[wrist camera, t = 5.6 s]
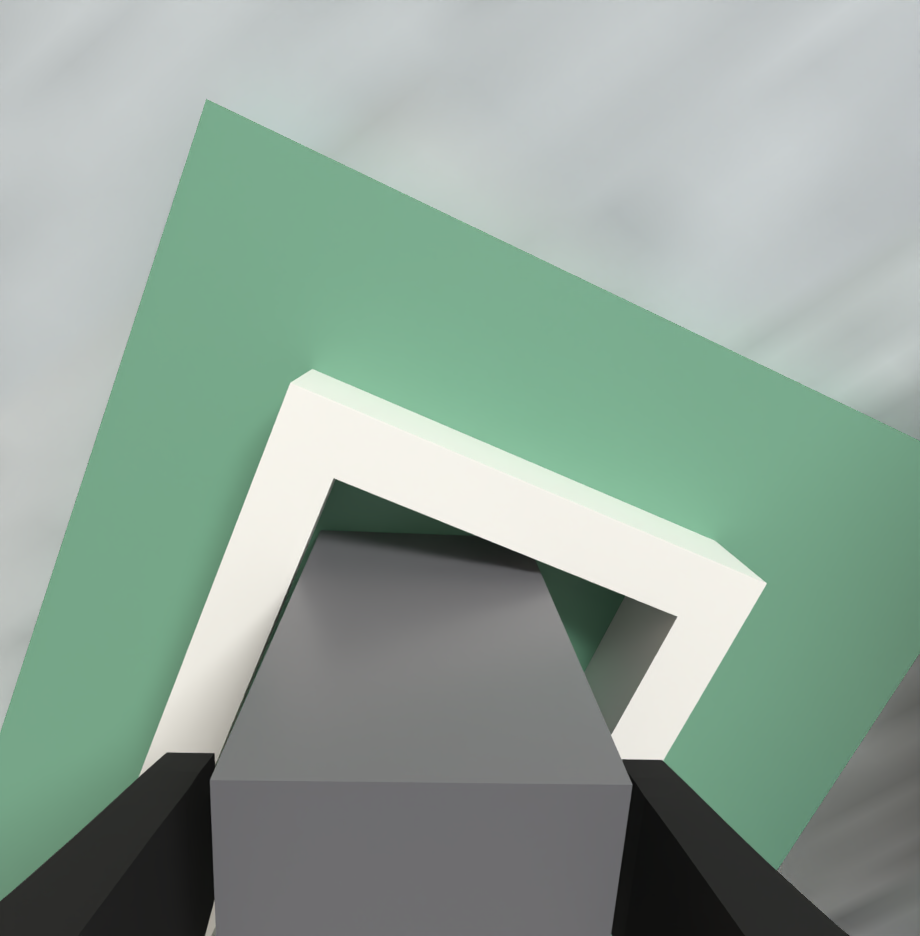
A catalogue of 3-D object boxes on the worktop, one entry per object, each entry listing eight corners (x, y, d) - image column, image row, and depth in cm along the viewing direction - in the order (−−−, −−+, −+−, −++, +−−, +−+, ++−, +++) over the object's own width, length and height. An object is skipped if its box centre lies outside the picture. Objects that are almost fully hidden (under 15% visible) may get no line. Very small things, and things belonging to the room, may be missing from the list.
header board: (988, 480, 12) (1131, 524, 10) (626, 1044, 16) (665, 1188, 13) (223, 114, 10) (157, 53, 8) (-24, 857, 13) (-129, 988, 11)
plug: (525, 538, 11) (632, 784, 6) (501, 819, 13) (565, 1250, 7) (321, 530, 11) (209, 779, 5) (318, 817, 13) (229, 1261, 7)
